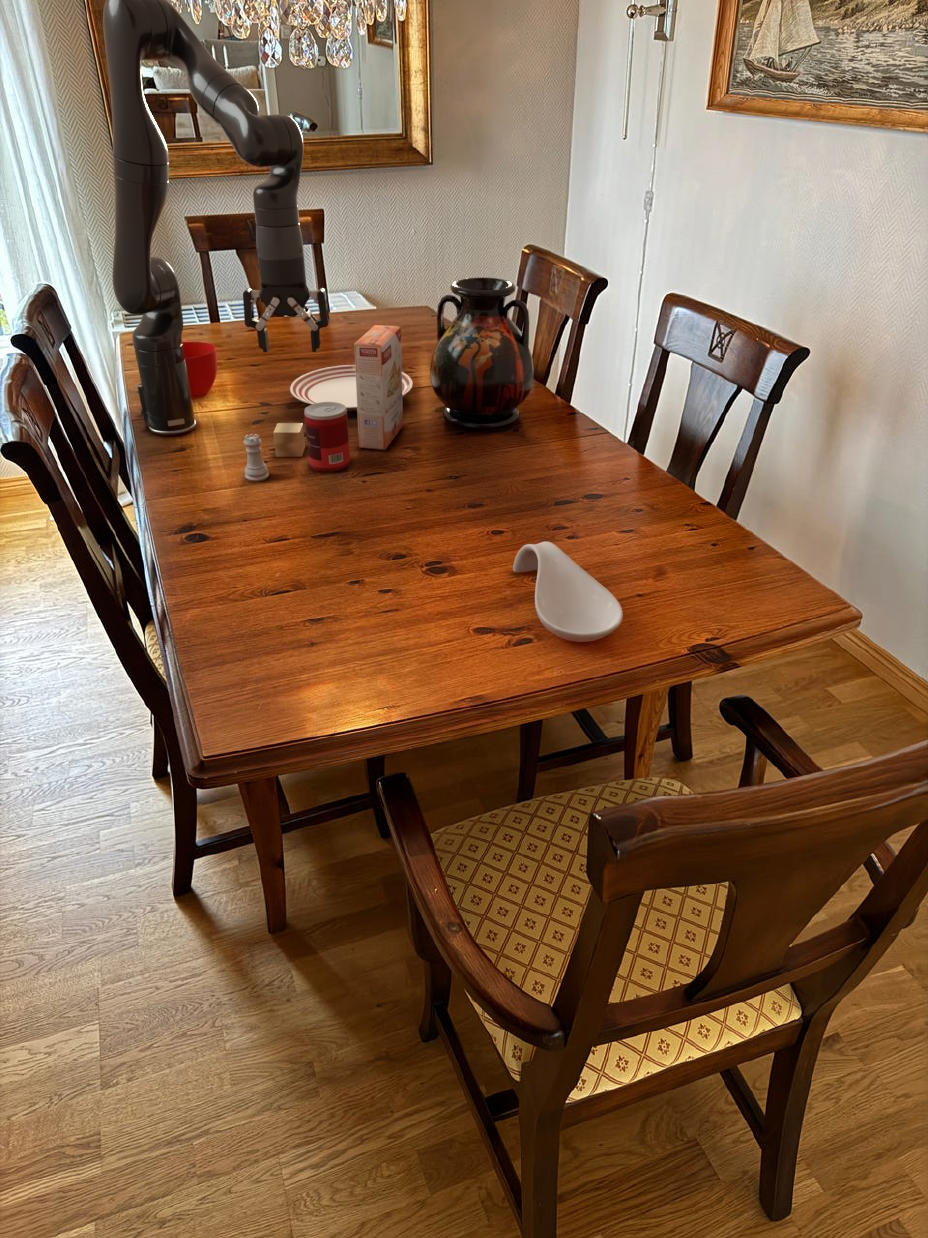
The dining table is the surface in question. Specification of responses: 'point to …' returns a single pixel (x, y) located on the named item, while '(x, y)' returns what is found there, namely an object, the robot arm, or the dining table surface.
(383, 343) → the cracker box
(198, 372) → the ceramic cup
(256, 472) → the rook chess piece
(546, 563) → the spoon rest
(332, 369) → the dinner plate
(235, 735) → the dining table surface
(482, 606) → the dining table surface
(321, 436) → the canned food
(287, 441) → the maple block
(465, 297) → the amphora vase
